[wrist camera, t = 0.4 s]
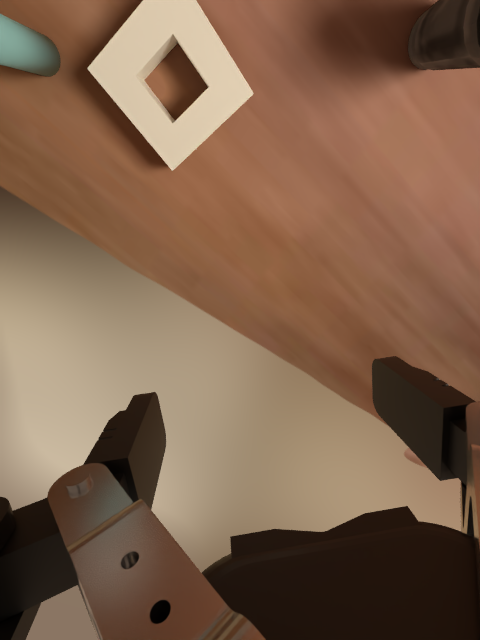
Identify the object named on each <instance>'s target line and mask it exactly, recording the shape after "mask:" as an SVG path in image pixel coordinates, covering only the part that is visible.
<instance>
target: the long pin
mask: <svg viewBox="0 0 480 640" xmlns="http://www.w3.org/2000/svg"><path fill="white" fill-rule="evenodd" d="M0 65H4V66H8V67H11V68H15V69H19V70H23V71H27V72H31V73H35V74H39V75H43V76H53V75H55V74H56V73H57V72H58V70H59V68H60V55H59V52H58V50H57V48H56V46H55V44H54V43H53V42H52V41H51V40H50V39H49V38H48V37H46V36H45V35H43V34H41V33H39V32H36V31H34V30H32V29H30V28H28V27H26V26H24V25H22V24H20V23H18V22H16V21H14V20H12V19H10V18H8V17H6V16H4V15H2V14H0Z"/></svg>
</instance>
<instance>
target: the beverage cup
mask: <svg viewBox="0 0 480 640" xmlns="http://www.w3.org/2000/svg"><path fill="white" fill-rule="evenodd" d="M408 52H409V57H410V59H411V61H412V63H413V64H414V65H415V66H416V67H417V68H420V69H424V70H426V69H431V70H445V69H463V68H480V0H439V1H437V2H436V3H435V4H434V5H433V6H432V7H431V8H430V9H429V10H427V11H425V12H424V13H423V14H422V15H421V16H420V17H419V18H418V20H417V21H416V23H415V25H414V26H413V28H412V31H411V34H410V37H409V43H408Z"/></svg>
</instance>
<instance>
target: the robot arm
mask: <svg viewBox="0 0 480 640" xmlns="http://www.w3.org/2000/svg"><path fill="white" fill-rule="evenodd" d="M372 387H373V403H374V406H375V409H376V411H377V413H378V414H379V416H380V417H381V418H382V419H383V420H384V421H385V422H386V423H387V424H388V425H389V426H390V427H391V429H392V430H393V431H394V432H395V433H396V434H397V435H398V436H399V437H400V438H401V439H402V440H403V441H404V442H405V444H406V445H407V446H408V447H409V448H410V449H411V450H412V451H413V452H414V453H415V454H416V455H417V456H418V458H419V459H420V460H421V461H422V462H423V463H424V464H425V465H426V466H427V467H428V468H429V469H430V470H431V471H432V473H433V474H434V475H435V476H436V477H437V478H438V479H439V480H440V481H442V480H447V479H454V478H459V479H460V480H461V488H460V501H461V531H458V530H455V529H452V528H449V527H446V526H442V525H438V524H433V523H427V522H418V520H417V519H416V517H415V516H414V515H413V513H412V512H411V511H410V509H409V508H408V506H406V507H399V508H393V509H388V510H382V511H376V512H371V513H365V514H363V515H360V516H358V517H356V518H354V519H352V520H350V521H347V522H346V523H343V524H341V525H339V526H337V527H335V528H332V529H330V530H328V531H325V532H311V531H296V530H281V529H272V530H267V531H261V532H255V533H249V534H243V535H238V536H232V537H230V538H231V554H229V555H227V556H225V557H223V558H221V559H220V560H218V561H217V562H215V563H213V564H212V565H211V566H209V567H208V568H207V569H205V570H204V571H203V572H202V573H201V572H200V571H199V569H198V568H197V567H196V566H195V564H194V563H193V562H192V561H191V560H190V558H189V557H188V556H187V554H186V553H185V552H184V551H183V549H182V548H181V547H180V546H179V544H178V543H177V542H176V541H175V540H174V538H173V537H172V536H171V534H170V533H169V532H168V531H167V529H166V528H165V527H164V526H163V524H162V523H161V522H160V521H159V519H158V518H157V517H156V516H155V514H154V513H153V512H152V511H151V508H152V504H153V500H154V495H155V491H156V487H157V482H158V478H159V474H160V470H161V465H162V461H163V457H164V453H165V447H166V433H165V428H164V423H163V419H162V414H161V410H160V404H159V400H158V396H157V394H156V393H155V392H153V393H147V394H139V395H134V396H133V398H132V400H131V402H130V404H129V405H128V407H127V409H126V410H125V411H119V412H118V413H117V414H116V415H115V416H114V417H113V418H111V419H110V420H109V421H108V423H107V425H106V426H105V428H104V430H103V432H102V433H101V435H100V437H99V440H98V441H97V442H96V444H95V446H94V447H93V449H92V451H91V452H90V454H89V456H88V457H87V459H86V461H85V463H84V464H83V465H82V466H79V467H77V468H74V469H72V470H71V471H69V472H67V473H66V474H64V475H63V476H61V477H60V478H59V479H58V480H57V481H56V482H55V483H54V484H53V485H52V486H51V488H50V490H49V492H48V497H47V498H45V499H43V500H40V501H38V502H35V503H32V504H30V505H27V506H25V507H22V508H20V509H17V510H14V511H12V508H11V506H10V503H9V501H8V500H7V499H6V498H3V497H0V640H26V637H27V635H28V632H29V630H30V628H31V625H32V623H33V621H34V618H35V616H36V614H37V611H38V609H39V607H40V604H41V602H43V601H45V600H47V599H49V598H51V597H53V596H55V595H57V594H59V593H61V592H64V591H66V590H68V589H70V588H72V587H74V586H76V585H78V587H79V590H80V593H81V595H82V598H83V601H84V603H85V606H86V609H87V611H88V614H89V616H90V619H91V622H92V625H93V627H94V630H95V632H96V635H97V638H98V640H480V401H478V402H476V401H474V400H472V399H471V398H469V397H468V396H466V395H464V394H463V393H461V392H460V391H458V390H456V389H455V388H453V387H452V386H448V384H447V383H445V382H444V381H442V380H439V378H437V377H436V376H434V375H432V374H431V373H429V372H427V371H424V370H421V369H418V368H415V367H412V366H411V365H409V364H407V363H406V362H404V361H403V360H401V359H400V358H398V357H396V356H393V357H386V358H380V359H375V360H374V361H373V363H372Z"/></svg>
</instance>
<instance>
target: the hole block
mask: <svg viewBox="0 0 480 640" xmlns="http://www.w3.org/2000/svg"><path fill="white" fill-rule="evenodd" d="M177 43H178V44H179V45H180V47H181V48H182V50H183V51H184V53H185V54H186V56H187V57H188V58H189V60H190V61H191V63H192V64H193V66H194V67H195V69H196V70H197V72H198V73H199V75H200V76H201V78H202V79H203V81H204V82H205V84H206V85H207V86H208V88H207V89H206V90H205V91H204V92H203V93H202V94H201V96H200V97H199V98H198V99H197V100H196V101H195V102H194V103H193V104H192V105H191V106H190V107H189V108H188V109H187V110H186V111H185V112H184V113H183V114H182V115H181V116H180V117H179V118H178V119H177V120H176V121H175V120H174V119H173V118H172V116H171V115H170V114H169V112H168V111H167V110H166V108H165V107H164V106H163V104H162V103H161V102H160V101H159V99H158V98H157V97H156V95H155V94H154V93H153V91H152V90H151V89H150V87H149V86H148V85H147V84H146V82H145V81H144V80H145V79H146V78H147V77H148V75H149V74H150V73H151V72H152V71H153V70H154V69H155V68H156V67H157V65H158V64H159V63H160V62H161V61H162V60H163V59H164V58H165V57H166V55H167V54H168V53H169V52H170V51H171V50H172V49H173V48H174V47H175V45H176V44H177ZM87 69H88V70H89V71H90V73H91V74H92V75H93V76H94V77H95V79H96V80H97V81H98V82H99V83H100V85H101V86H102V87H103V88H104V89H105V91H106V92H107V93H108V94H109V95H110V97H111V98H112V99H113V100H114V101H115V103H116V104H117V105H118V106H119V107H120V109H121V110H122V111H123V112H124V113H125V115H126V116H127V117H128V118H129V119H130V121H131V122H132V123H133V124H134V125H135V127H136V128H137V129H138V130H139V131H140V133H141V134H142V135H143V136H144V137H145V139H146V140H147V141H148V142H149V143H150V145H151V146H152V147H153V148H154V149H155V151H156V152H157V153H158V154H159V155H160V157H161V158H162V159H163V160H164V161H165V163H166V164H167V165H168V166H169V167H170V169H171V170H172V171H173V170H174V169H175V168H176V167H177V166H178V165H179V164H180V163H181V162H182V161H184V160H185V159H186V158H187V157H188V156H189V155H190V154H191V153H192V152H193V151H194V150H195V149H196V148H197V147H198V146H199V145H200V144H201V143H202V142H203V141H205V140H206V139H207V138H208V137H209V136H210V135H211V134H212V133H213V132H214V131H215V130H216V129H217V128H218V127H219V126H220V125H221V124H222V123H223V122H224V121H226V120H227V119H228V118H229V117H230V116H231V115H232V114H233V113H234V112H235V111H236V110H237V109H238V108H239V107H240V106H241V105H242V104H243V103H244V102H246V101H247V100H248V99H249V98H250V97H251V96H252V95H253V94H254V93H253V92H252V90H251V88H250V87H249V85H248V83H247V82H246V80H245V79H244V77H243V75H242V74H241V72H240V71H239V69H238V67H237V66H236V64H235V62H234V61H233V59H232V58H231V56H230V54H229V53H228V51H227V49H226V48H225V46H224V45H223V43H222V41H221V40H220V38H219V37H218V35H217V33H216V32H215V30H214V28H213V27H212V25H211V24H210V22H209V20H208V19H207V17H206V16H205V14H204V12H203V11H202V9H201V7H200V6H199V4H198V3H197V1H196V0H143V1H142V2H141V3H140V5H139V6H138V7H137V8H136V10H135V11H134V12H133V13H132V14H131V16H130V17H129V18H128V19H127V21H126V22H125V23H124V24H123V25H122V27H121V28H120V29H119V30H118V31H117V33H116V34H115V35H114V36H113V38H112V39H111V40H110V41H109V42H108V44H107V45H106V46H105V47H104V49H103V50H102V51H101V52H100V53H99V55H98V56H97V57H96V58H95V60H94V61H93V62H92V63H91V64H90V66H89V67H88V68H87Z"/></svg>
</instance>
